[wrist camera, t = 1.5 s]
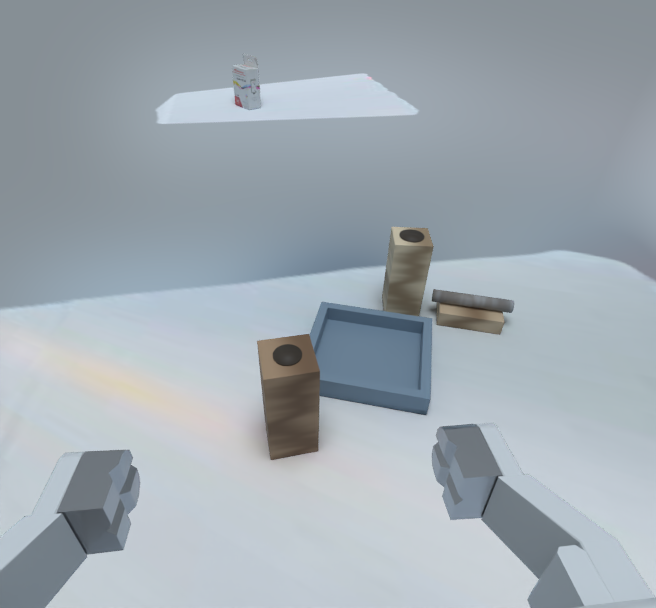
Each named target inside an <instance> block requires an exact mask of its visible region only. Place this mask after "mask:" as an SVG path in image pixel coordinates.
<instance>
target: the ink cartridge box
mask: <svg viewBox="0 0 656 608" xmlns="http://www.w3.org/2000/svg"><path fill="white" fill-rule="evenodd" d="M243 59H244V64H242V65H233V66H232V72H233V82H234V94H235V104H236V105H238V106H240V107H243V108H245V109H248V110H252V109H257V108H261V102H260V85H259V71H258V64H257V58H256V57H254V56H251V55H247V54H243ZM248 59H251V60H252V61H253V62H250V61H248Z"/></svg>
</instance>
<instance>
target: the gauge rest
mask: <svg viewBox="0 0 656 608" xmlns="http://www.w3.org/2000/svg"><path fill="white" fill-rule="evenodd" d="M432 301H433V302H437V325H442V326H448V327H455V328H461V329H468V330H475V331H481V332H488V333H494V334H500V333H501V331H502V328H503V325H504V317H503V312H509V313H512V311H513V308H514V301H513V300H506V299H499V298H492V297H485V296H478V295H471V294H464V293H456V292H449V291H442V290H435V289H434V290H433V295H432Z"/></svg>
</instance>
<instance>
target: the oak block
mask: <svg viewBox="0 0 656 608" xmlns="http://www.w3.org/2000/svg"><path fill="white" fill-rule="evenodd" d="M432 251H433V244H432V240H431V237H430V234H429V231H428V229H427V228H408V227H407V228H406V227H392V228H391V235H390V243H389V251H388V258H387V265H386V272H385V280H384V287H383V294H382V300H383V308H384V311H386V312H393V313H400V314H406V315H413V316H419V313H420V309H421V304H422V299H423V294H424V290H425V285H426V280H427V275H428V270H429V266H430V261H431V256H432Z"/></svg>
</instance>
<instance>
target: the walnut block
mask: <svg viewBox="0 0 656 608" xmlns="http://www.w3.org/2000/svg"><path fill="white" fill-rule="evenodd" d="M257 344H258V354H259V364H260V374H261V384H262V394H263V404H264V414H265V423H266V430H267V437H268V444H269V451H270V458H271V460H274V459H279V458H284V457H290V456H295V455H300V454H305V453H311V452H316V451H318V432H319V394H320V369H319V366H318V363H317V359H316V356H315V352H314V349H313V346H312V342H311V339H310V336H309V334H305V335H298V336H290V337H283V338H275V339H268V340H261V341H257Z"/></svg>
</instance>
